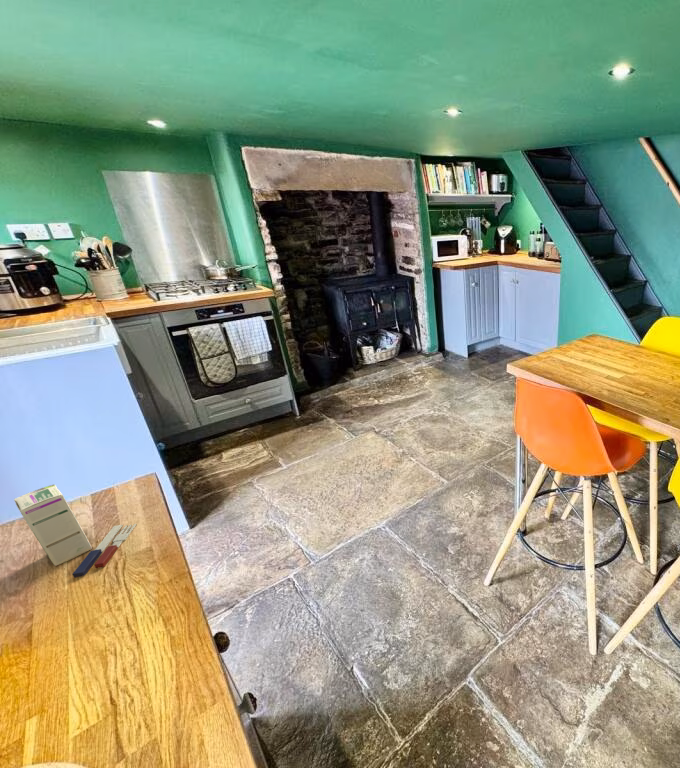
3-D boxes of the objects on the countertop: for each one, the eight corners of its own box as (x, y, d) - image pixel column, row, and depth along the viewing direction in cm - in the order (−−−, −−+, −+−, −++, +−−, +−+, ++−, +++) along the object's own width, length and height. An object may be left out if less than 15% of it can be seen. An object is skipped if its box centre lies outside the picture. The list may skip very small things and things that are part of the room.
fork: (93, 569, 79) (91, 565, 79) (125, 526, 89) (123, 523, 89) (107, 566, 80) (105, 562, 79) (137, 524, 90) (135, 521, 90)
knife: (74, 577, 77) (72, 574, 77) (114, 527, 89) (112, 523, 89) (84, 575, 78) (82, 572, 77) (123, 525, 90) (121, 522, 89)
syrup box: (93, 548, 84) (64, 492, 78) (53, 568, 79) (19, 510, 73) (84, 537, 86) (56, 482, 80) (45, 555, 82) (11, 498, 76)
